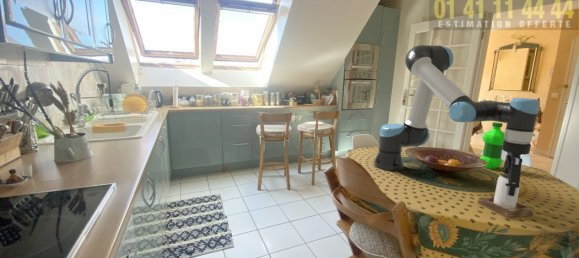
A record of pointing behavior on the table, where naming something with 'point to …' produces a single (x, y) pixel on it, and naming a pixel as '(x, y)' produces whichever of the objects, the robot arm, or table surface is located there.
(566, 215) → the table surface
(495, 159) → the plastic bottle
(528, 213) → the tray
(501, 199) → the can
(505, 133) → the robot arm
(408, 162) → the table surface
